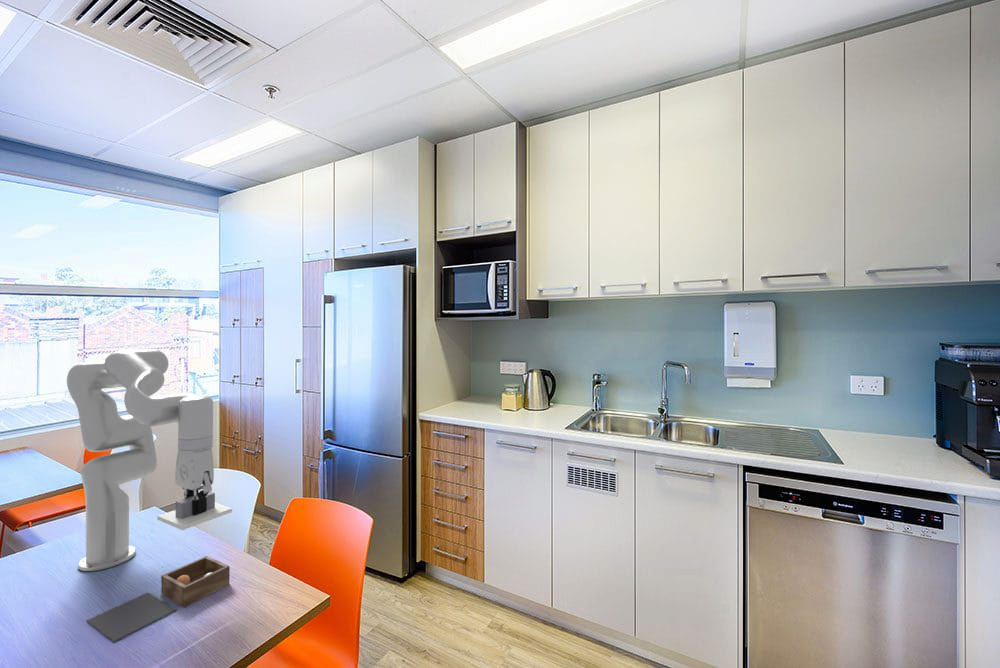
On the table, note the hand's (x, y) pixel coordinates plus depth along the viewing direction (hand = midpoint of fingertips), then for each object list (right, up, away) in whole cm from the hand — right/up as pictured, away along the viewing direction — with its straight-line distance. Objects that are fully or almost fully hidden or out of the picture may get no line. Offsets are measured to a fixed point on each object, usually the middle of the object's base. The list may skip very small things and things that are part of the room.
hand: (195, 511), depth 112 cm
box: (0, -21, 0) cm, 21 cm away
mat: (-8, -21, -10) cm, 25 cm away
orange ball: (-3, -19, 0) cm, 19 cm away
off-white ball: (+3, -19, +1) cm, 19 cm away
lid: (0, -1, 0) cm, 1 cm away
